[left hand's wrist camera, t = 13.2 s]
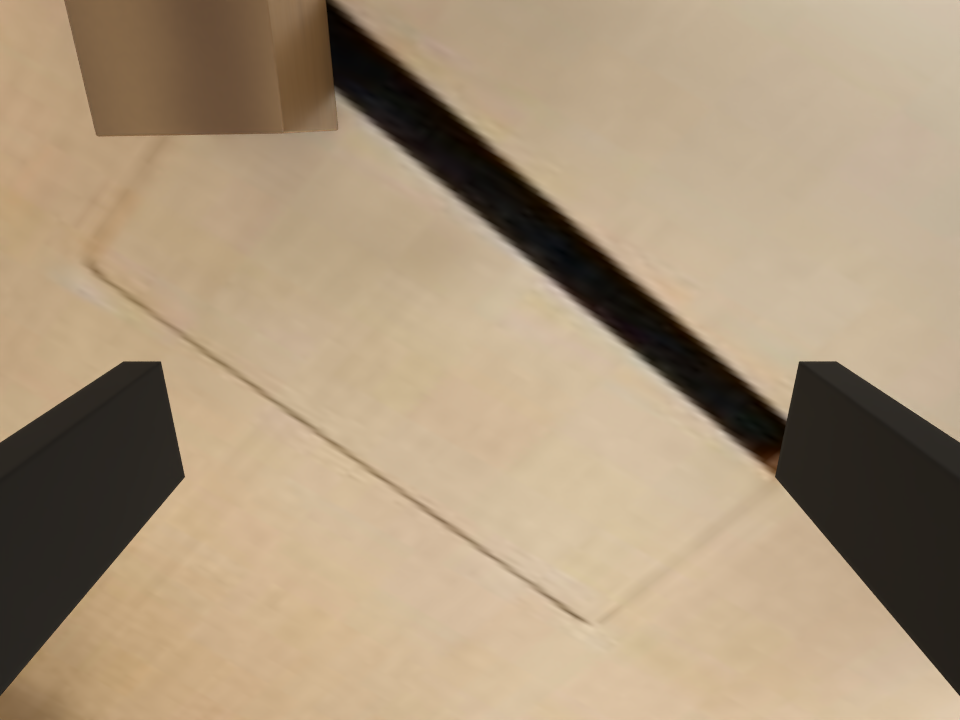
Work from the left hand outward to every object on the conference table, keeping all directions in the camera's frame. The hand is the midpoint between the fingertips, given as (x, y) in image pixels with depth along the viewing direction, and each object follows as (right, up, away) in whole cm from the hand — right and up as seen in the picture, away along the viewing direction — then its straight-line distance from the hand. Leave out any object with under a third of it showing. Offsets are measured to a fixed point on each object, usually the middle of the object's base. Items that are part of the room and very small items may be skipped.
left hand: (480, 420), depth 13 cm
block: (-8, +13, +11) cm, 19 cm away
